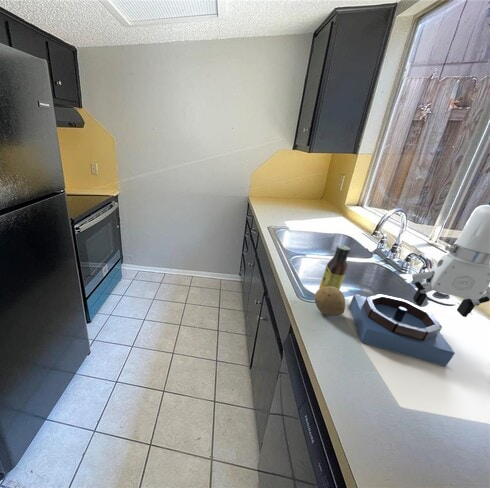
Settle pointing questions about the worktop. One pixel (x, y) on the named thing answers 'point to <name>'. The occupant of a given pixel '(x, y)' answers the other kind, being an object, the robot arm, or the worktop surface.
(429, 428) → the worktop surface
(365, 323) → the ring stand
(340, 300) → the brown potato
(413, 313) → the walnut ring
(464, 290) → the robot arm
